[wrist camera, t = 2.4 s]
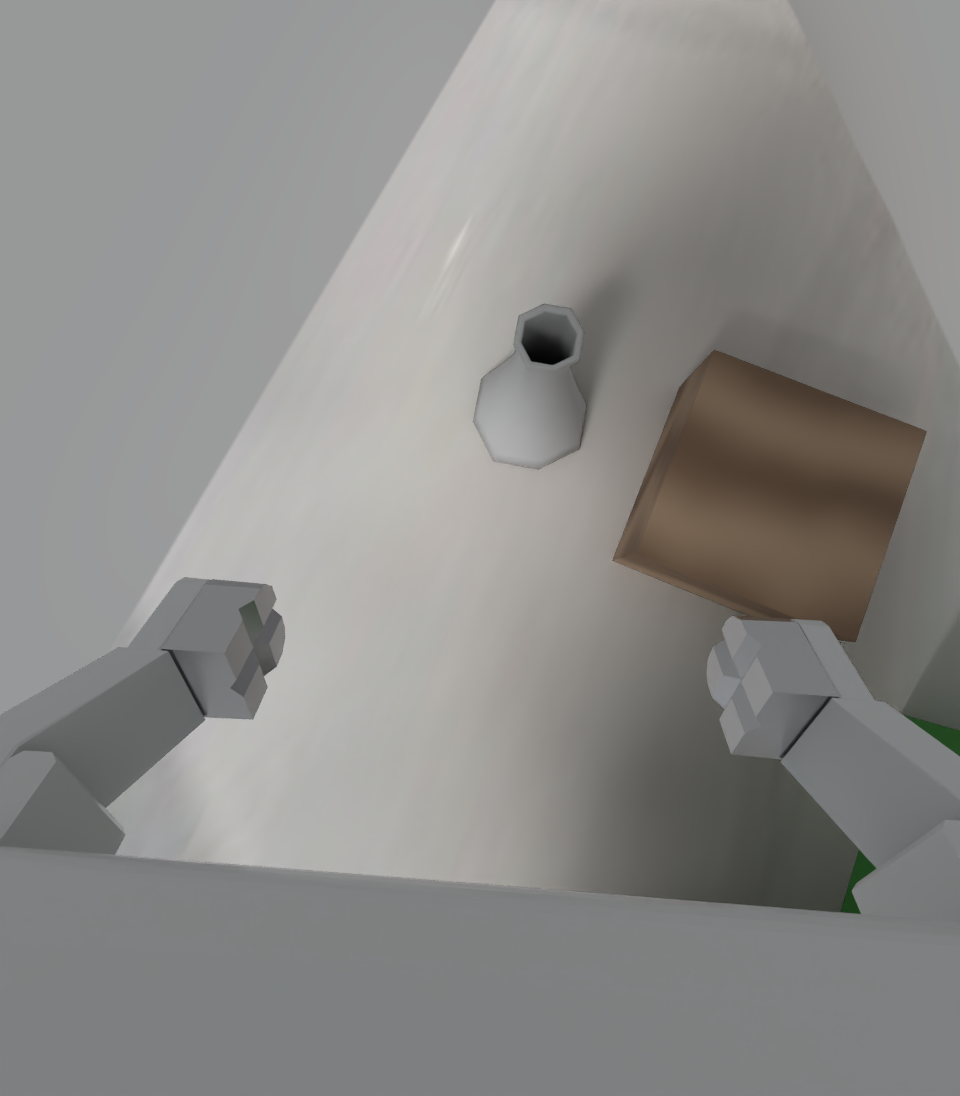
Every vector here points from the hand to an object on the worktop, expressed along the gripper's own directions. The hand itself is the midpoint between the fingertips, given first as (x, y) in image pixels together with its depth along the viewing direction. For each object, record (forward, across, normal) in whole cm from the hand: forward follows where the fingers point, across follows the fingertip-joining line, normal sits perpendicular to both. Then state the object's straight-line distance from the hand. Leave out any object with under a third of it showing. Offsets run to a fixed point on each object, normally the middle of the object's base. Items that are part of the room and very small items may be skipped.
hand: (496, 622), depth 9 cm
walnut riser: (+21, -15, +11) cm, 28 cm away
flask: (+25, -2, +8) cm, 26 cm away
